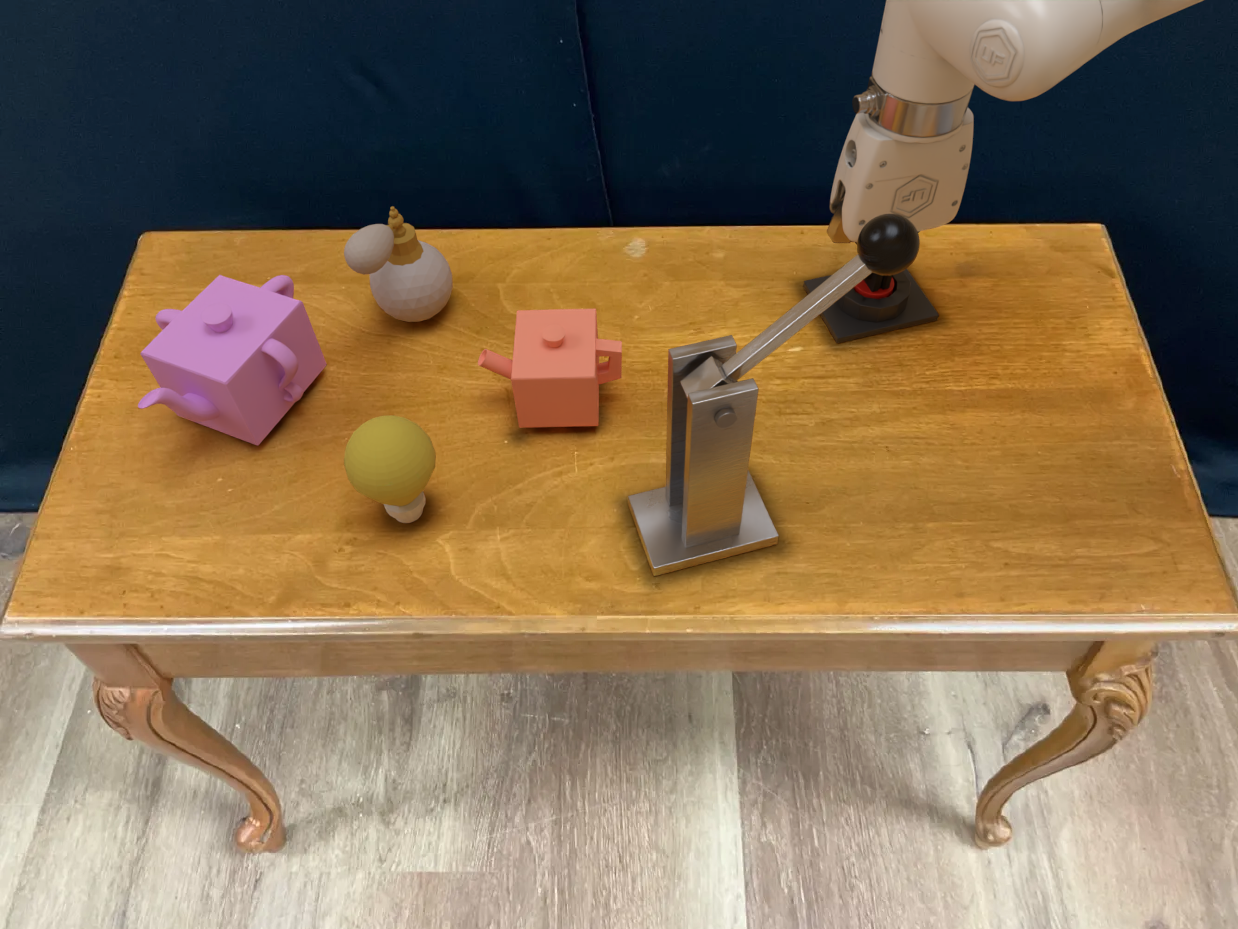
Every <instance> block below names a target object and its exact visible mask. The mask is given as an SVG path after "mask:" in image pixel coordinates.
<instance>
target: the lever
mask: <svg viewBox="0 0 1238 929" xmlns="http://www.w3.org/2000/svg"><path fill="white" fill-rule="evenodd" d="M920 240H921V239H920V234H919V233H918V231H917V229H916V227H915V226H914V225H913V223H912V222H911V221H910V220H908V219H907V218H905V217H903V216H901V215H898V214H882V215H879V216H877V217H875V218H873V219H871V220H870V221H869V222H868V223H867V224H866V225H865V226H864V227H863V229H862V230H861V232H860V234H859V237H858V241H857V244H856V251H857V254H856V255H855V256H854V257H852V258H851V259H850V260H848V261H847V262H846V263H845V264H844V265H843V266H842V267H840V268H839V269H837V271H835V272H834V273H833V274H831V275H832V276H830V277H829V278H828V279H827V280H826V281H824V282H823V283H822V284H821V285H819V286H818V287H817V288H816V289H814V290H813V291H812V292H811V293H810V294H807V295H806V296H804V297H803V298H802V299H801V300H800V301H799V302H797V303H796V304H795V305H793V306H792V307H791V308H790V309H789V310H788V311H786V312H785V313H784V314H782V315H781V316H780V317H779V318H777V320H775V321H773V323H771V324H770V325H769V326H768V327H766V329H764V330H762V332H760V333H759V334H758V335H757V336H755V337H754V338H753V339H752V340H750V341H749V342H748V343H747V344H745V345H744V346H743V347H742V348H741V349H739V350H738V351H736V354H735V355H733V356H732V357H731V358H730V359H729V360H727V361H726V362H725V363H724V364H723V363H721V362H720V361H718V360H717V359H715V358H714V357H712V356H711V357H709V358H708V359H707V360H706V361H705V362H703V363H702V364H701V365H700V366H699V367H697V368H696V369H695V370H694V371H692V372H691V373H690V374H689V375H688V376H686V377H685V378H684V379H683V380H682V381H681V382H680V383H681V385H682V387H683V390H684V392H685V394H686V397H687V399H688V393H691V392H696V391H700V390H704V389H709V388H713V387H717V386H721V385H726V384H730V383H734V382H739V381H738V380H740V379H741V378H742V377H743V376H745V375H746V374H747V373H748V372H750V371H751V370H753V368H755V367H756V366H757V365H758V364H760V363H761V362H763V360H765V359H766V358H767V357H769V356H770V355H771V354H772V353H774V352H775V351H776V350H777V349H778V348H780V347H781V346H782V345H784V344H785V343H786V342H787V341H788V340H790V339H791V338H793V337H794V336H795V335H796V334H797V333H799V332H800V331H801V330H802V329H804V328H805V327H806V326H807V325H808V324H811V322H812V321H814V320H815V319H816V318H817V317H818V316H820V314H821V313H822V312H823V311H825V310H826V309H827V308H828V307H830V306H831V305H832V304H833V303H835V302H836V301H837V300H838V299H840V298H841V297H842V296H843V295H845V294H846V293H847V292H849V291H850V290H851V289H852V288H854V287H855V286H856V285H857V284H859V283H860V282H861V281H862V280H864V279H865V278H866V277H867V276H869V275H870V274H871V273H872V272H873V273H875V274H879V275H885V276H888V275H895V274H898V273H900V272H902V271H904V270H905V269H907V270H908V268H909V267H911V265H913V263H914V262H915V260H916V259H917V257H918V254H919V252H920V245H921V241H920Z"/></svg>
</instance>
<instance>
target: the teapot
mask: <svg viewBox="0 0 1238 929" xmlns="http://www.w3.org/2000/svg"><path fill="white" fill-rule="evenodd" d="M294 294H295V284H294V282H293V279H292V278H291V277H290V276H289V275H285V274H280V275H276V276H274V277H271V278H270V279H269V280H268V281H266V282H265V283H264V284H262V285H261V286H260V287H259V286H256V285H254V284H253V285H252V284H250V283H246V282H243V281H240V280H237V279H233V278H230V277H227V276H224V275H222V274H219V275H218V276H216V277H215V278H214V279H213V280H212V281H211V282H210V283H209V284H208V285H206V287H205V288H204V289H203V290H202V291H201V292H200V293H198V295H196V297H194V298H193V300H191V301H190V303H189V304H187V306H185V308H184V309H182V310H180V309H175V308H164V309H161V310H160V311H158V312H157V313H156V315H155V322H156V324H157V325H158V327H159V328H160V329H161V331H160V332H159V333H158V334H157V335H156V336H155V337H154V338H153V339H152V340H151V341H149V343H148V344H147V345H146V347H144V348H143V349H142V350H141V352H140V356H141V358H142V359H143V361H144V362H145V364H146V366H147V368H148V369H149V371H150V373H151V374H152V376H153V377H154V379H155V381H156V383H157V384H158V386H159V387H157V388H153V389H151V390H150V391H148V392H147V393H146V394H145V395H143V397H141V399H140V400H139V402H138V404H137V408H139V409H141V410H143V409H146V408H147V409H148V408H149V407H152V406H155V405H164V406H166V407H167V408H169V409H170V411H172V412H174V414H176V416H177V417H180V418H183V419H185V420H188V421H191V422H194V423H196V424H199V425H201V426H205V427H207V428H209V429H212V430H215V431H217V432H221V433H222V434H226V435H227V436H231V437H233V438H236V439H238V440H240V441H241V440H242V441H244V442H247V443H250V444H252V445H255V446H257V447H258V446H259V445H260V444H261V443H262V442H263V441H264V439H265V438H266V437H267V436H268V435H269V434H270V432H271V431H272V430H273V429H274V428H275V427H276V426H277V425H278V423H279V422H280V421H281V420H282V418H283V417H284V416H285V415H286V414H287V413H288V411H289V410H290V409H291V408H292V407H293V406H294V405H295V403H296V402H298V401H300V400H301V398H302V397H303V395H304V392H306V390H307V389H308V388H309V387H310V386H311V384H312V383H313V382H314V381H315V379H316V378H317V377H318V376H319V375H320V374H321V372H322V371H324V369H325V368H326V366H327V365H328V364H327V362H326V359H325V357H324V354H323V351H322V348H321V345H320V343H319V341H318V338H317V336H316V333H315V331H314V328H313V325H312V323H311V320H310V317H309V315H308V313H307V309H306V307H305V304H304V302H303V301H302V300H299V299H295V298H294Z"/></svg>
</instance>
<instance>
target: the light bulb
mask: <svg viewBox="0 0 1238 929" xmlns="http://www.w3.org/2000/svg"><path fill="white" fill-rule="evenodd" d="M436 453H437V452H436V450H435V447H434V444H433V441H432V439H431V436H429V434H428V433H427V432H426V431H425V429H423V428H422V426H421V425H419V424H418V423H416V422H415V421H413V420H411V419H409V418H407V417H404V416H399V415H395V414H391V415H390V414H389V415H379V416H376V417H373V418H371V419H368V420H367V421H365V422H363V423H362V424H360V425H359V427H357V428H356V429H355V430H354V431H353V433H352V434H351V436H350V438H349V440H348V441H347V443H346V444H345V449H344V457H343V465H344V469H345V470H344V471H345V473H346V478H347V480H348V482H349V483H350V484H351V486H352V487H353V488H354V489H355V491H356V493H357V492H358V493H360V494H361V495H363V496H365V497H366V498H368V499H370V500H373V501H374V502H377V503H379V504H381V505H383V507H384V509H385V511H386V513H387V514H388V515H389V516H390V517H391V518H393V519H395V520H396V521H397V522H399V523H403V524H410V523H413V522H416V521H417V520H419V518H420V517H421V516H422V514H423V513H424V512H423V511H424V507H425V506H426V500H427V498H426V496H425V493H424V490H425V489H426V487H427V485H428V483H429V481H430V479H431V477H432V475H433V472H434V470H435V468H436V461H437V460H436V459H437V454H436Z"/></svg>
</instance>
